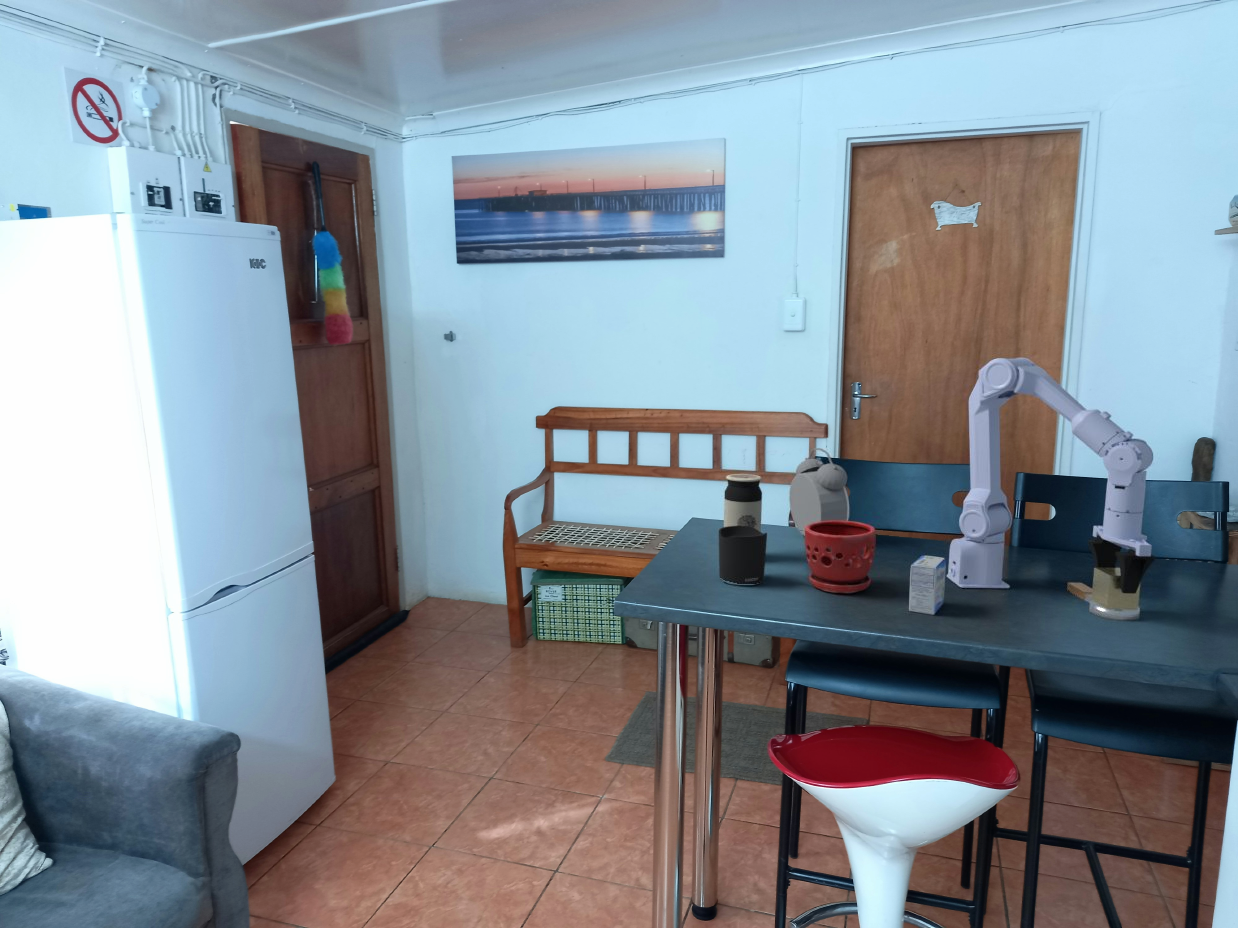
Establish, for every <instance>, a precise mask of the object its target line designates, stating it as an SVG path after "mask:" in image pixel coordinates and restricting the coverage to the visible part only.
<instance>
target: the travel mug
mask: <svg viewBox="0 0 1238 928" xmlns="http://www.w3.org/2000/svg"><path fill="white" fill-rule="evenodd" d="M725 478H726V481H727V486H726V488H725V490H724V501H723V503H724V505H723V506H724V507H723V509H724V510H723V527H728V526H749V527H753V528H755V529H757V530H758V531H760V532H761V533H762V511H763V510H762V509H763V502H762V501H763V491H762V489H761V487H760V482H761V480H762V476H760V475H756V474H751V473H749V474H748V473H733V474H728V475H726V476H725Z"/></svg>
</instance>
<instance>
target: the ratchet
mask: <svg viewBox="0 0 1238 928" xmlns="http://www.w3.org/2000/svg"><path fill="white" fill-rule="evenodd" d="M1066 586H1067V587H1066V591H1068V590H1069V591H1070V592H1069V591H1068V592H1069V593H1071V594H1073V595H1074V594H1075V595H1074V596H1076V595H1077V596H1076V597H1078V598H1079V599H1081V600H1083V601H1085V602H1088V603H1089V609H1088V611H1089V612H1090V613H1091V614H1092V615H1095V616H1097V617H1099V618H1104V619H1108V620H1113V621H1120V622H1121V621H1123V622H1127V621H1128V622H1130V621H1133V622H1134V621H1138V620H1139V619H1140V611H1141V607H1140V606H1139V605H1138V610H1115V609H1106V608H1104V607H1102V606H1100V605H1099V604H1097V603H1095V602H1094V601H1092V589H1093V587H1089V586H1088V585H1087V584H1084V583H1082V582H1067V585H1066Z"/></svg>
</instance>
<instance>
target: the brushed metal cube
mask: <svg viewBox="0 0 1238 928" xmlns="http://www.w3.org/2000/svg"><path fill="white" fill-rule="evenodd" d="M1092 578H1093V579H1092V580H1093V581H1092V601H1094V602H1095V603H1097V604H1099V605H1100V606H1102V607H1104V608H1106V609H1115V610H1138V606H1139V601H1140V591H1141V590H1140V589H1141V584H1140V585H1139V587H1138V589H1137V592H1136V594H1131V593H1122V591H1121V573H1120V567H1115V568H1097V567H1096V566H1095V567H1094V568H1093V577H1092Z"/></svg>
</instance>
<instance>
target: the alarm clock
mask: <svg viewBox="0 0 1238 928" xmlns="http://www.w3.org/2000/svg"><path fill="white" fill-rule="evenodd" d="M814 451H821V452H823V453H824V454H826V456H827V458H828V461H829V463H826V464H825V463H824V462H823V461H822V460H820V459H817V458H811V457H812V455H813V453H814ZM847 481H848V475H847V472H846V471H845V469H844V468H843V467H842V466H840V465H838V464H835V463H833V461H832V458H831V456H830V453H829V452H828V451H827V450H825V449H823V448H820V447H815V448H812V449H811V450H810V453H809V456H808V457H805V458H804V460H803V461H801V462H800V463H799V464H798V465H797V466H796V469H795V475H794V478H793V479H792V481H791V483H790V488H789V496H788V497H789V499H788V500H789V509H790V513H791V517H792V520H793V522H794V524H795V527H796V528H797V530H798V531H799V530H803V531H799V533H800V534H801V535H802V536H803V535H804V536H803V537H805V527H806V526H807V525H809V524H812V523H815V522H821V521H833V520H834V521H849V518H850V500H849V494H848V491H847V489H846V484H847Z"/></svg>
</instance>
